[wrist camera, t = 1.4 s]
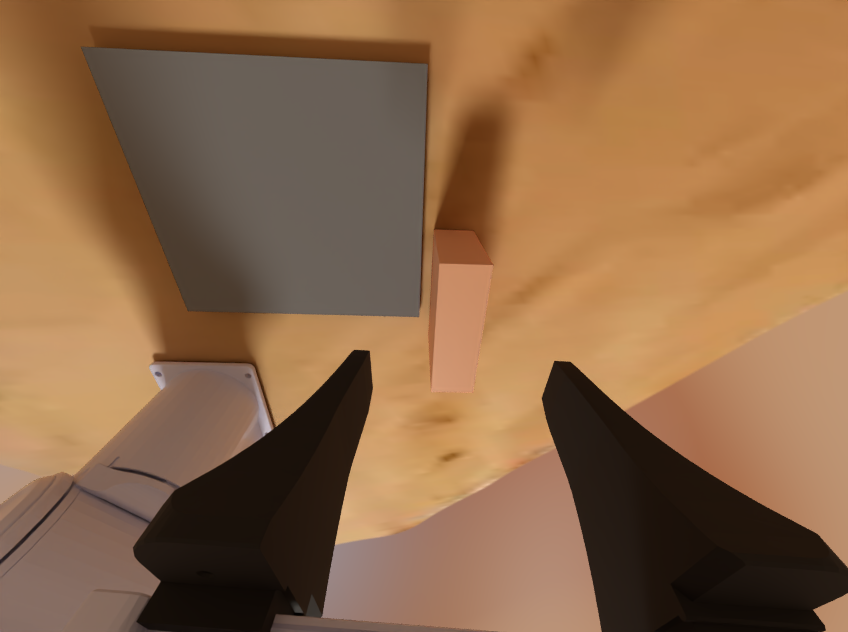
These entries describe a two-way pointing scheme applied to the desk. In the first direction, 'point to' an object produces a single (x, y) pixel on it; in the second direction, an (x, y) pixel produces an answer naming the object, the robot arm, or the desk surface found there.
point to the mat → (276, 176)
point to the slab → (457, 309)
